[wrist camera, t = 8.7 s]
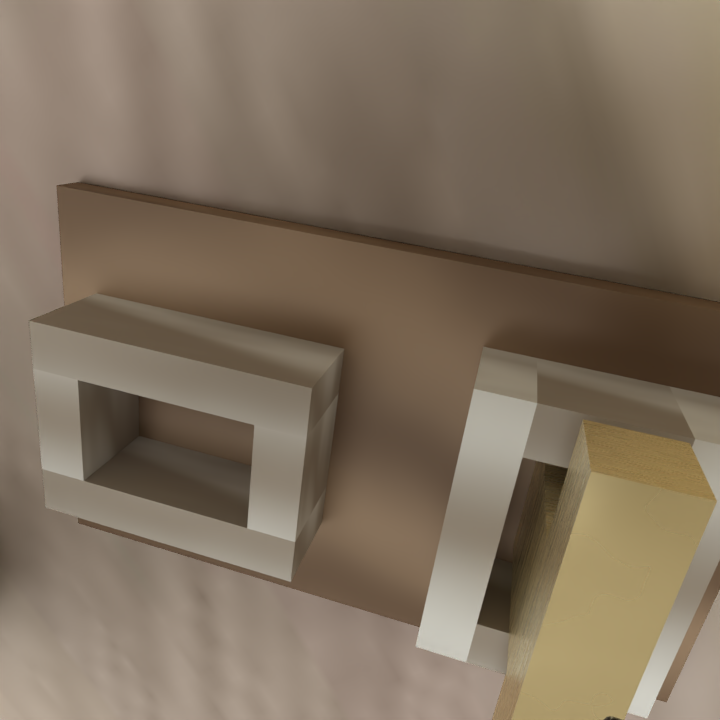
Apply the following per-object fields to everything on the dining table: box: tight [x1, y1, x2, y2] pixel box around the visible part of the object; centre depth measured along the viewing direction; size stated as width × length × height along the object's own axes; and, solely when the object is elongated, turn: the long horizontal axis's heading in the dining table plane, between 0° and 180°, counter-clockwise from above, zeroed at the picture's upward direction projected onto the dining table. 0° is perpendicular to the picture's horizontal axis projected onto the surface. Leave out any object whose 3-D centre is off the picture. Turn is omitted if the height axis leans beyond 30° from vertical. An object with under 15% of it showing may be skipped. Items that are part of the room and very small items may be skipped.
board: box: [29, 182, 720, 718], centre depth 19 cm, size 13×22×4 cm, turn 83°
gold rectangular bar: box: [492, 419, 717, 720], centre depth 15 cm, size 2×10×7 cm, turn 173°
